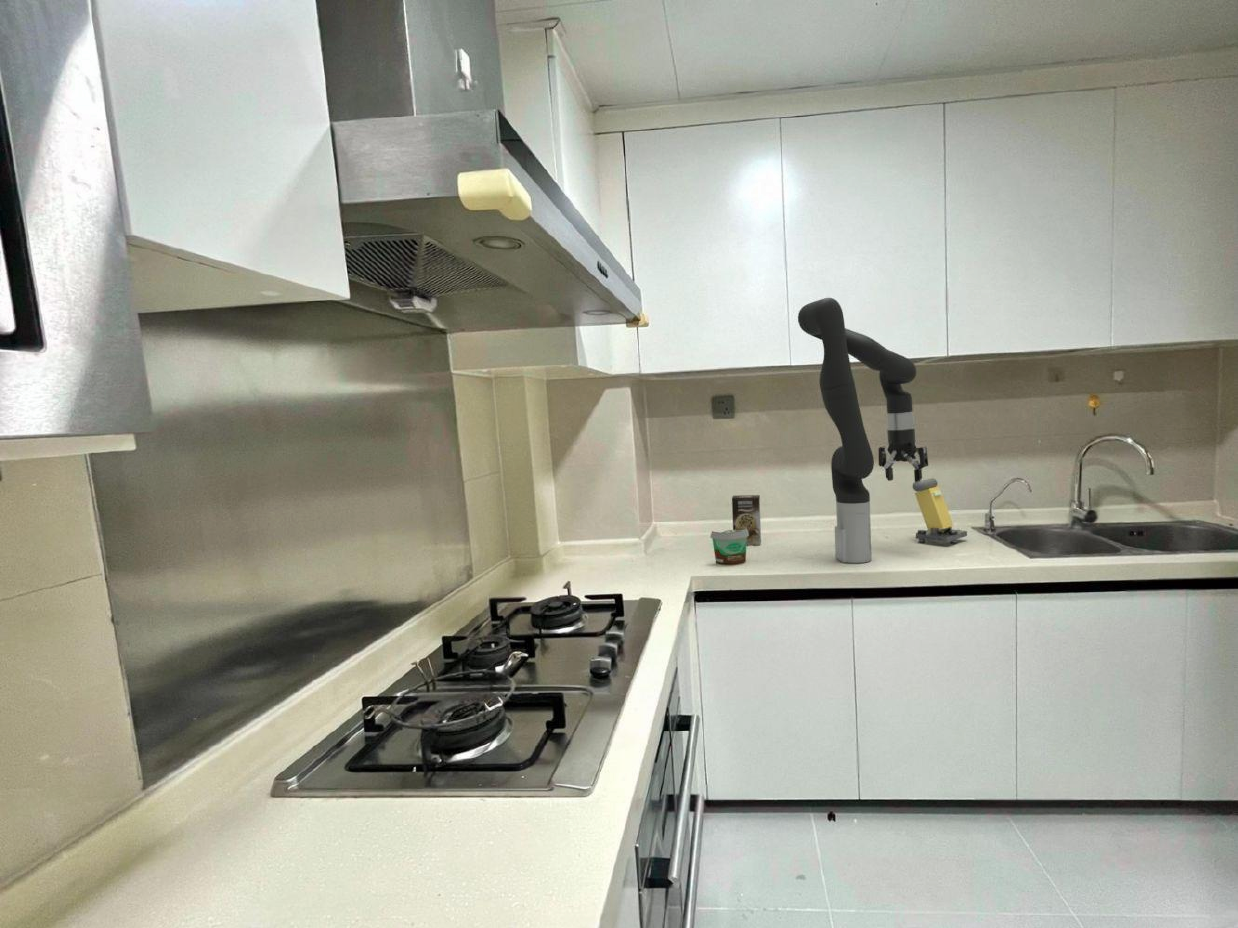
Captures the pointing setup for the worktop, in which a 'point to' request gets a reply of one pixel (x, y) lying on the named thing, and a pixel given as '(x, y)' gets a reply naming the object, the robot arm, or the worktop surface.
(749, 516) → the coffee box
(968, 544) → the worktop surface
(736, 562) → the food container
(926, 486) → the grey-capped yellow box
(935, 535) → the tribrach
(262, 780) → the worktop surface
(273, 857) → the worktop surface
